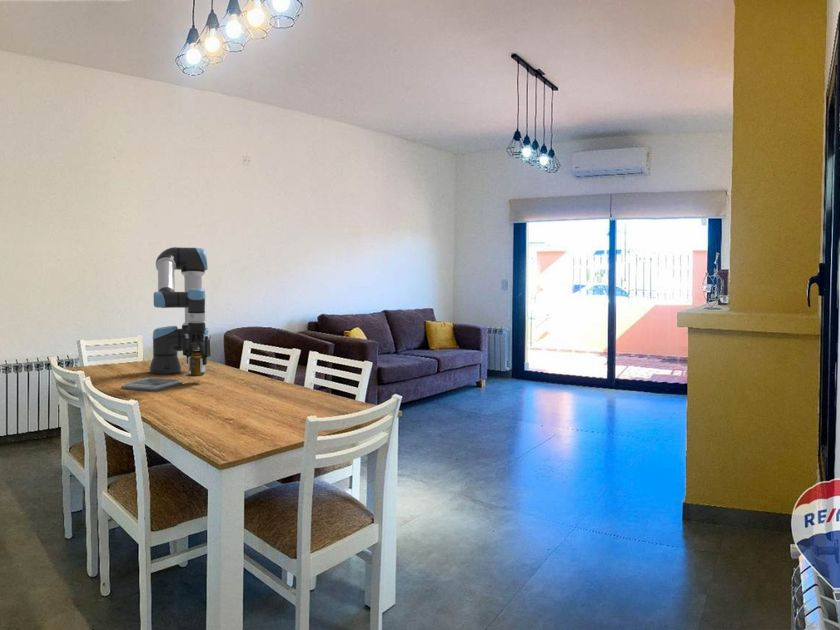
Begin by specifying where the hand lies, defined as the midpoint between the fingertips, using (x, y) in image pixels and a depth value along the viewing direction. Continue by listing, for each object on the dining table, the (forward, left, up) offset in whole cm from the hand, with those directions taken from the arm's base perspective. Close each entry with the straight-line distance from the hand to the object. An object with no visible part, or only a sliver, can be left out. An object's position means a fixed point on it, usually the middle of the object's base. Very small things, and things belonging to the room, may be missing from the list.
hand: (196, 371), depth 284 cm
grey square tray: (+14, -13, -6) cm, 20 cm away
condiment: (0, -1, -2) cm, 2 cm away
